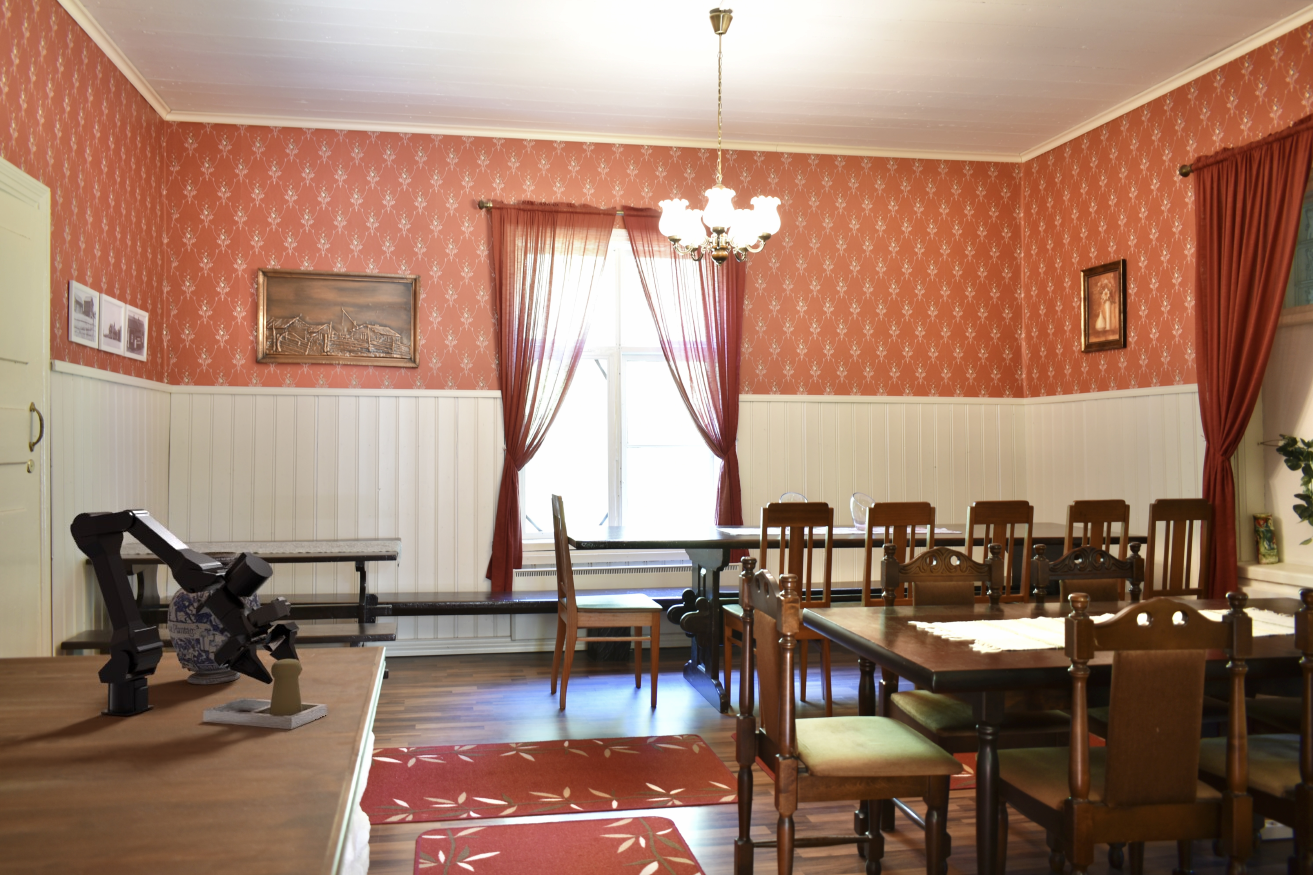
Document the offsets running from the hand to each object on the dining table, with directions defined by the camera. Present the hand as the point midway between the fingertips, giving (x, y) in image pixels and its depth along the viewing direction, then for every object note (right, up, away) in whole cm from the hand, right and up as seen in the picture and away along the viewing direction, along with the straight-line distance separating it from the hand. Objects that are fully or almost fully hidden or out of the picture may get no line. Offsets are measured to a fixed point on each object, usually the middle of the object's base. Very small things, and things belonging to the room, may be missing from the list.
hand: (286, 676), depth 170 cm
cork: (0, -8, 0) cm, 8 cm away
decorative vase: (-30, -10, +34) cm, 46 cm away
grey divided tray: (-4, -8, +1) cm, 9 cm away
